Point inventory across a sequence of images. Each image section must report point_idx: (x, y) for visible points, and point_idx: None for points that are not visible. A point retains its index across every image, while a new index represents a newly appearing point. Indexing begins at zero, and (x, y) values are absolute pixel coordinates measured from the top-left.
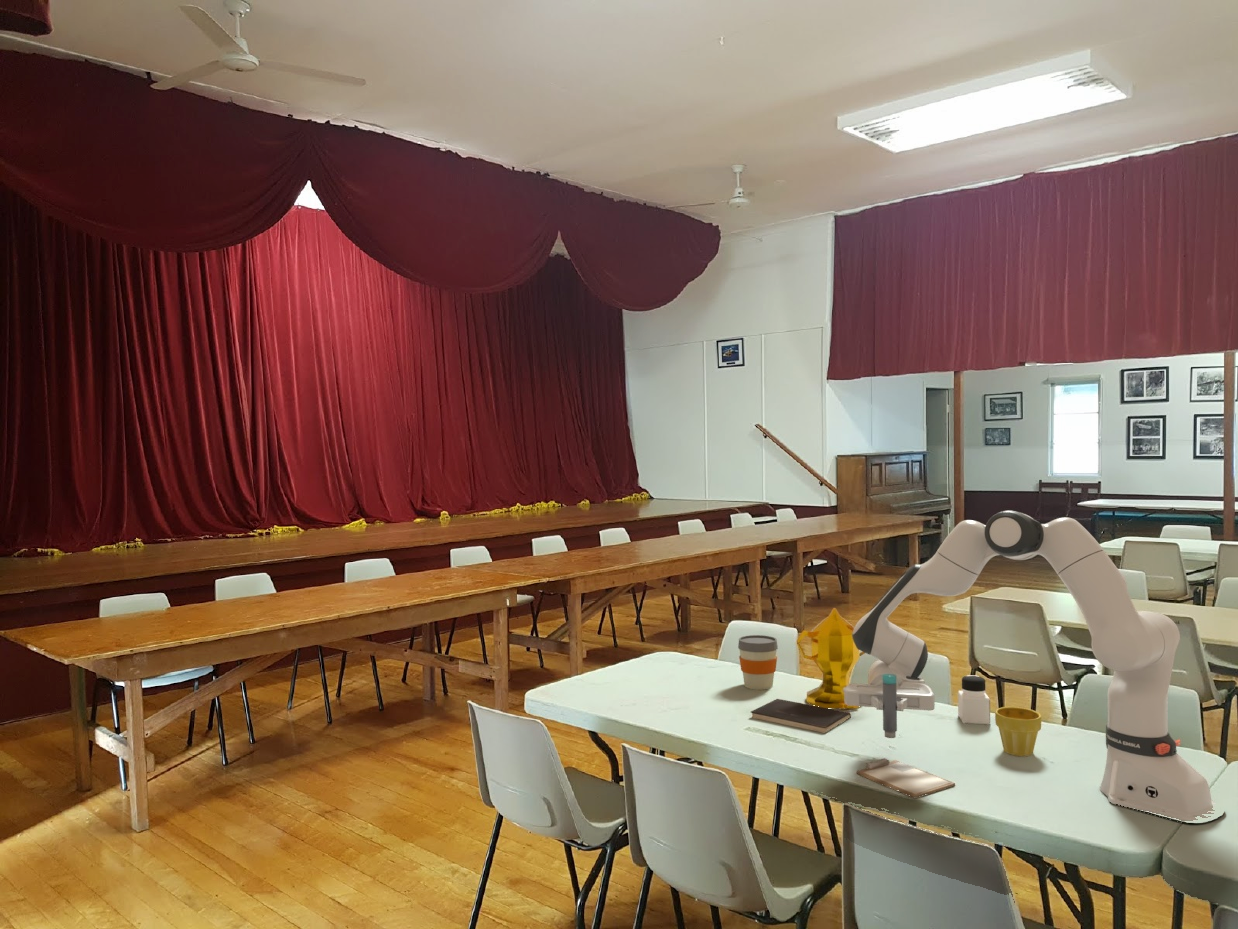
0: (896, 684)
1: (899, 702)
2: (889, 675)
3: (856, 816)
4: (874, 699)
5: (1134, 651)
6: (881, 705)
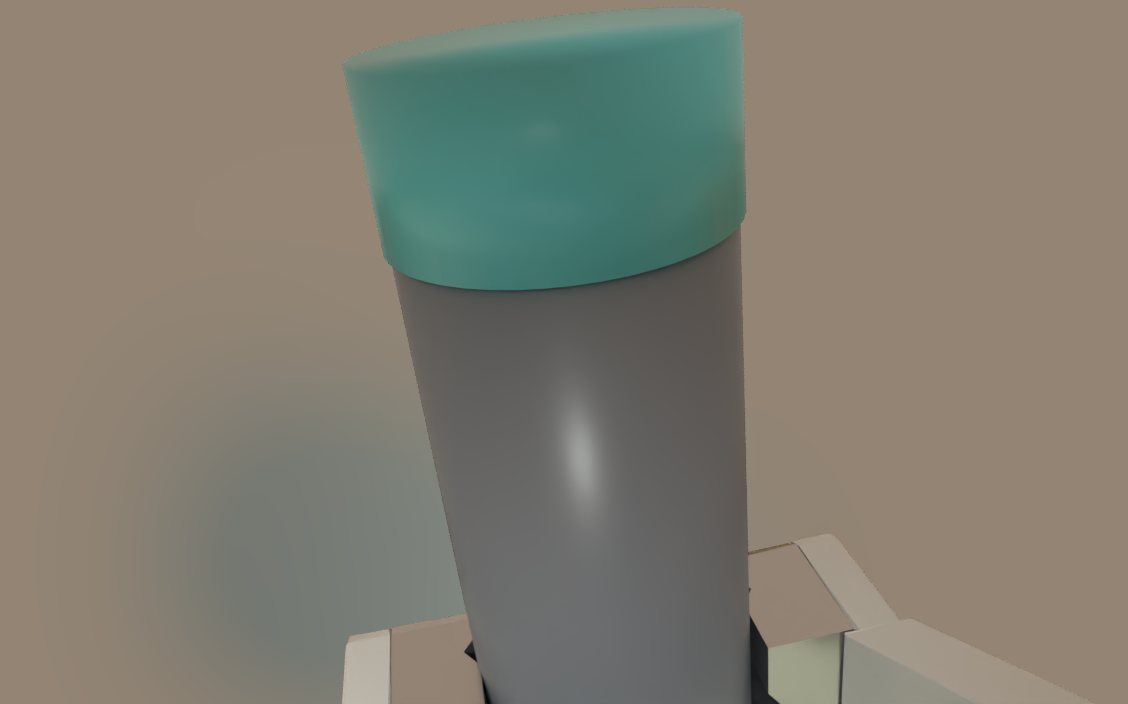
0: (398, 288)
1: (417, 672)
2: (542, 34)
3: None
4: (963, 646)
5: None
6: None
